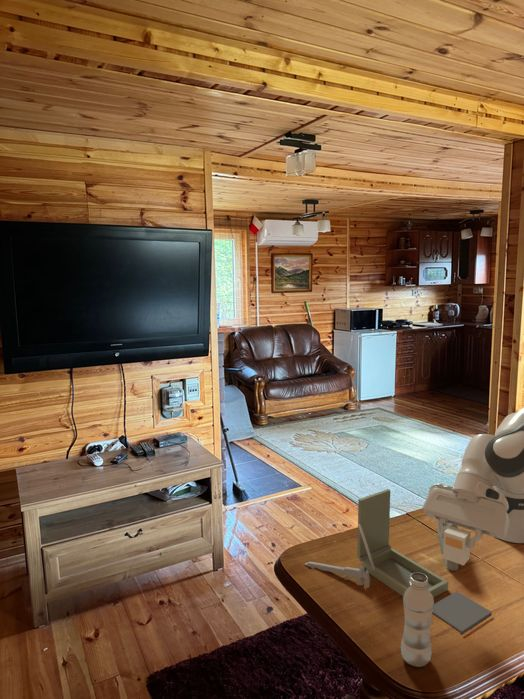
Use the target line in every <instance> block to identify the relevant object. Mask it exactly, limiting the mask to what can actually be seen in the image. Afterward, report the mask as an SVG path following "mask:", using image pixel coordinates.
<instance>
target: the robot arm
mask: <svg viewBox="0 0 524 699" xmlns="http://www.w3.org/2000/svg"><path fill="white" fill-rule="evenodd" d="M460 467H461V468H460V470H458V472H457V475H456V477H455V481H454V484H453V486H449V485H445V484H442V483H436V484H433V485H431V486H430V487H429V490H428V493H427V494H428V495H427V497H426V498H425V501H424V503H423V506H422V511H423V513H424V514H425V516H426V517H428V518H431V519H434V520H436V521H437V520H440V521H439V523H440V527H441V533H440V538H441V539H444V531H445V527H444V526H447V524H448V523H450V524H453V525H457V526H458V527H461V528H462V529H467V530H470V531H473V532H474V536H472V537H470V539H469V538H467V542H466V546H467V547H469V548H470V550H474V549H475V548H474V547H475V545H476V543H477V542H478V541H480V540H481V539H482V538H483V534H484V535H487V536H490V537H493V538H496V539H499V540H501V541H502V540H503V541H505V542H509V543H515V544H524V406H523V407H522V408H520V410H518V411H517V412H512V413H509V414H508V415H506V416H505V417H504V418H503V420H502V421H501V422H500V424H499V425H498V427H497V428H496V430H495V433H494V435H493V434H489V433H481V434H476V435H474V436H473V437H472V438H471V439H470V440H469V442H468V444H467V446H466V449H465V450H464V454H463V456H462V459H461V466H460Z"/></svg>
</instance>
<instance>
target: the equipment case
mask: <svg viewBox="0 0 524 699" xmlns="http://www.w3.org/2000/svg"><path fill="white" fill-rule="evenodd" d="M357 509H358V510H357V555H356V556H357V558H358V559H359V561H360V562H361V566H362V567H363V568H364V567H365V566H366V571H368V572H369V575H371V576H372V577H374V578H375V579H377V580H378V581H380V582H381V583H382V584H384V585H386V586H387V587H388V588H389V589H391V590H393V591H395V592H396V593H397V594H398V595H400V596H401V597H403V596H404V593H405V591H406V590H407V589H408V587H410V576H411V574H412V573H422V574H425V575H426V576H427V577H428V590H429V591H430V592H431V594H432V596H433V599H434V598H436V597H438V596H439V595H441V594H444V593H445V592H447V591H448V590H449V581H448V580H446V579H445V578H443V577H441V576H440V575H438V574H436V573H435V572H433V571H431V570H429V569H428V568H426V567H424V565H421V564H420V563H419V562H418V563H417V562H416V561H414V560H413V559H411V558H409V557H408V556H406V555H404V554H402V553H401V552H400V551H397V550H396V549H395V548H393V547H392V546H391V544H390V516H391V515H390V514H391V511H390V510H391V490H390V489H388V488H387V489H384V490H382V491H381V490H380V491H378V492H376V493H373V494H370V495H367V496H364V497H361V498H359V499H358V508H357Z"/></svg>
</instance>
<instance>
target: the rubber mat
mask: <svg viewBox="0 0 524 699" xmlns="http://www.w3.org/2000/svg"><path fill="white" fill-rule="evenodd" d="M432 615H434V616H436V617H437V618H438V619H440V620H442V621H443V622H444V623H446V624H447V625H449V626H451V627H452V628H453V629H455V630H456V631H458V632H459V633H460V636H463V635H464V634H465V633H468V632H469V631H470V630H472V629H473V628H475V627H476V626H478V625H479V624H481V623H482V622H484V621H486V620H487V619H489V618H490V617H491V616H492V615H493V614H492V611H490V609H487V608H485V606H482V605H480V604H479V603H478V602H476V601H474V600H472V599H471V598H469V597H467V596H466V595H464V594H462V593H461V592H459V591H458V590H457V591H454V592H452V593H451V594H449V595H447V596H446V597H444V598H442V599H440V600H438V601H437V602H434V607H433V611H432Z"/></svg>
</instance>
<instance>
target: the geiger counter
mask: <svg viewBox="0 0 524 699" xmlns="http://www.w3.org/2000/svg"><path fill="white" fill-rule="evenodd" d="M439 521H440V520H437V519H436V522H437V533H436V534H437V541H438V543H439V548H440V547H441V548H440V551H441V554H442V556H443V549H444V539H441V538H440V533H441V527H440V523H439ZM449 526H453V527H456V528H459V526H457V525H453V524H450V523H448V524H447V526H444V527H445V530H446V529H447V528H448V527H449ZM443 559H444V558H443ZM444 563H445V567H446V570H449V571H453V572H455V571H459V564H458V563H455V562H452V561H450V560H447V559H444Z"/></svg>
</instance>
